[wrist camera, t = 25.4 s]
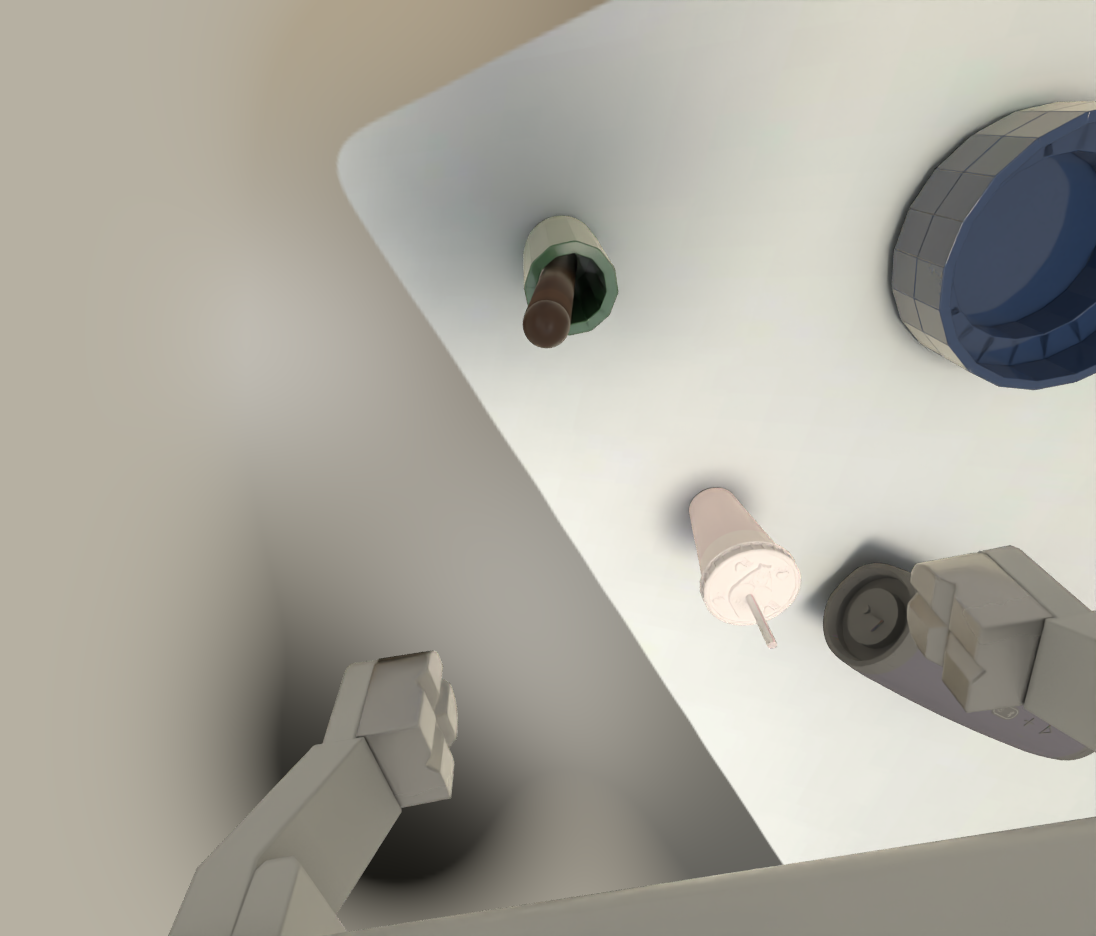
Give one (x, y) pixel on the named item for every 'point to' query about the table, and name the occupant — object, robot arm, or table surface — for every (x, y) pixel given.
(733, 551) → the smoothie
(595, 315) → the holder
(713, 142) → the table surface
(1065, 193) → the bowl
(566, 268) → the stick
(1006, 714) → the bluetooth speaker
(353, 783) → the robot arm
